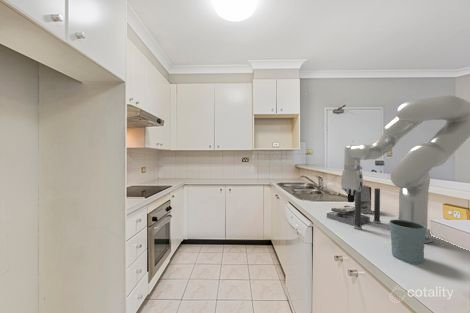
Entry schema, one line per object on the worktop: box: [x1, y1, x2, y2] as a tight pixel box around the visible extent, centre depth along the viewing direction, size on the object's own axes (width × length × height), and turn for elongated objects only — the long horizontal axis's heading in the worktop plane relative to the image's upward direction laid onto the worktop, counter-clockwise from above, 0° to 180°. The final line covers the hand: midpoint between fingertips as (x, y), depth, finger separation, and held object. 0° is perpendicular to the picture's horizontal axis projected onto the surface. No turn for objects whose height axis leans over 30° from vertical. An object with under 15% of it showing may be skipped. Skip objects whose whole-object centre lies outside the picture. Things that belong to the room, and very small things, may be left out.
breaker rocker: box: [336, 206, 355, 211], centre depth 118 cm, size 9×4×2 cm, turn 29°
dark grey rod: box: [353, 191, 363, 231], centre depth 103 cm, size 3×3×18 cm
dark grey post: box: [372, 187, 382, 225], centre depth 111 cm, size 3×3×18 cm
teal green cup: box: [388, 219, 426, 265], centre depth 75 cm, size 10×10×12 cm
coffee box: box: [361, 184, 372, 215], centre depth 132 cm, size 9×6×16 cm
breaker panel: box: [326, 205, 371, 227], centre depth 117 cm, size 16×15×6 cm
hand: (350, 201), depth 115 cm, fingers closed
